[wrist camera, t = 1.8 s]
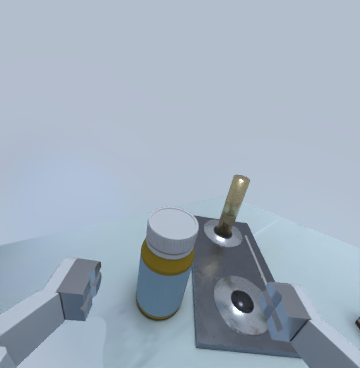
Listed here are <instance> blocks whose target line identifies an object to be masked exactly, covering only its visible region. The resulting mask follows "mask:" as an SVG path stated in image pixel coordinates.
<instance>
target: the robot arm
mask: <svg viewBox="0 0 360 368" xmlns="http://www.w3.org/2000/svg"><path fill="white" fill-rule="evenodd" d="M100 268H101V262H99V261H92V260H85V259H78V258H71V257H66V258H65V259H64V260H63V261H62V262H61V264H60V265H59V266H58V268H57V269H56V271H55V272H54V274H53V275H52V276H51V278H50V279H49V281H48V282H47V284H46V285H45V286H44V288H43V289H42V291H36V292H35V293H33V294H32V295H30V296H29V297H27V298H25V299H24V300H22V301H21V302H19V303H18V304H16V305H15V306H13V307H11V308H10V309H8V310H7V311H5V312H4V313H2V314H1V315H0V368H16V367H17V366H18V365H19V364H20V363H21V362H22V361H23V360H24V359H25V358H26V357H27V356H28V355H29V354H30V353H31V352H33V350H35V349H36V348H37V347H38V346H39V345H40V344H41V343H42V342H43V341H44V340H45V339H46V338H47V337H48V336H49V335H50V334H51V333H52V332H54V331H55V330H56V329H57V328H58V327H59V326H60V325H61V324H62V323H63V322H64V320H77V321H85V320H86V318H87V316H88V314H89V311H90V309H91V306H92V298H93V297H94V296H96V294H97V292H98V289H99V286H100V283H101V272H100V271H99V270H100ZM260 307H261V310H262V313H263V314H264V315H265V316H266V317H267V322H266V324H267V327H268V330H269V332H270V335H271V338H272V340H278V341H286V342H290V344H291V345H292V346H293V348H294V349H295V350H296V351H297V353H298V354H299V355H300V356H301V358H302V359H303V360H304V362H305V363H306V364H307V365H308V367H309V368H360V351H359V350H358V349H357V348H356V347H355V346H354V345H353V344H351V343H350V342H349V341H348V340H347V339H346V338H345V337H343V336H342V335H341V334H340V333H339V332H338V331H337V330H335V329H334V328H333V327H332V326H331V325H330V324H329V323H327V322H324V321H323V320H322V318H321V316H320V315H319V313H318V312H317V310H316V308H315V307H314V305H313V303H312V302H311V300H310V298H309V297H308V295H307V294H306V292H305V290H304V289H303V287H301V286H300V285H294V284H288V283H278V282H268V283H267V284H266V290H265V291H263V292H262V293H261V295H260Z"/></svg>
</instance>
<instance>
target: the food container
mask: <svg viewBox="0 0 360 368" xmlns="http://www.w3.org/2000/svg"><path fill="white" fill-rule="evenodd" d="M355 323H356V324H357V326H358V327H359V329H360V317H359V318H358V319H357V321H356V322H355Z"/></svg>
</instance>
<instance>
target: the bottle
mask: <svg viewBox="0 0 360 368" xmlns="http://www.w3.org/2000/svg"><path fill="white" fill-rule="evenodd" d="M198 229H199V225H198V221H197V219H196V218H195V217H194V216H193V215H192V214H191V213H189V212H188V211H186V210H184V209H181V208H177V207H162V208H159V209H156V210H155V211H153V212H152V213H151V214H150V216H149V219H148V224H147V236H146V238H145V240H144V242H143V244H142V248H141V256H140V265H139V275H138V284H137V303H138V306H139V308H140V309H141V311H142V312H143V313H144V314H145V315H147V316H149V317H150V318H153V319H165V318H168V317H170V316H172V315H173V314H175V312H176V311H177V310H178V309H179V307H180V304H181V302H182V299H183V295H184V292H185V288H186V285H187V281H188V278H189V274H190V271H191V268H192V264H193V260H194V243H195V241H196V237H197V233H198Z"/></svg>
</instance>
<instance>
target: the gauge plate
mask: <svg viewBox="0 0 360 368" xmlns="http://www.w3.org/2000/svg"><path fill="white" fill-rule="evenodd" d="M249 182H250V180H249V179H248V178H247V177H245V176H242V175H235V176H234V178H233V180H232V184H231V186H230V189H229V193H228V195H227V199H226V202H225V205H224V208H223V211H222V214H221V217H220V219H213V218H207V217H200V216H194V217H195V218H196V219H197V221H198V225H199V229H198V233H197V237H196V241H195V243H194V260H193V264H192V278H193V297H194V316H195V335H196V348H205V349H215V350H225V351H235V352H245V353H255V354H265V355H275V356H285V357H295V358H301V356H300V355H299V354H298V353H297V351H296V350H295V349H294V348H293V346H292V345H291V344H290V342H286V341H278V340H272V338H271V335H270V332H269V330H268V327H267V324H266V322H267V317H266V316H265V315H264V314H263V313H262V310H261V307H260V295H261V293H262V292H263V291H265V290H266V284H267V283H268V282H275V281H274V279H273V277H272V275H271V273H270V270H269V268H268V266H267V264H266V262H265V260H264V258H263V256H262V254H261V252H260V249H259V247H258V245H257V243H256V241H255V239H254V237H253V235H252V233H251V231H250V228H249V226H248V224H247V223H241V222H235V219H236V217H237V214H238V211H239V209H240V206H241V203H242V201H243V198H244V195H245V193H246V190H247V188H248V185H249Z"/></svg>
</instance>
